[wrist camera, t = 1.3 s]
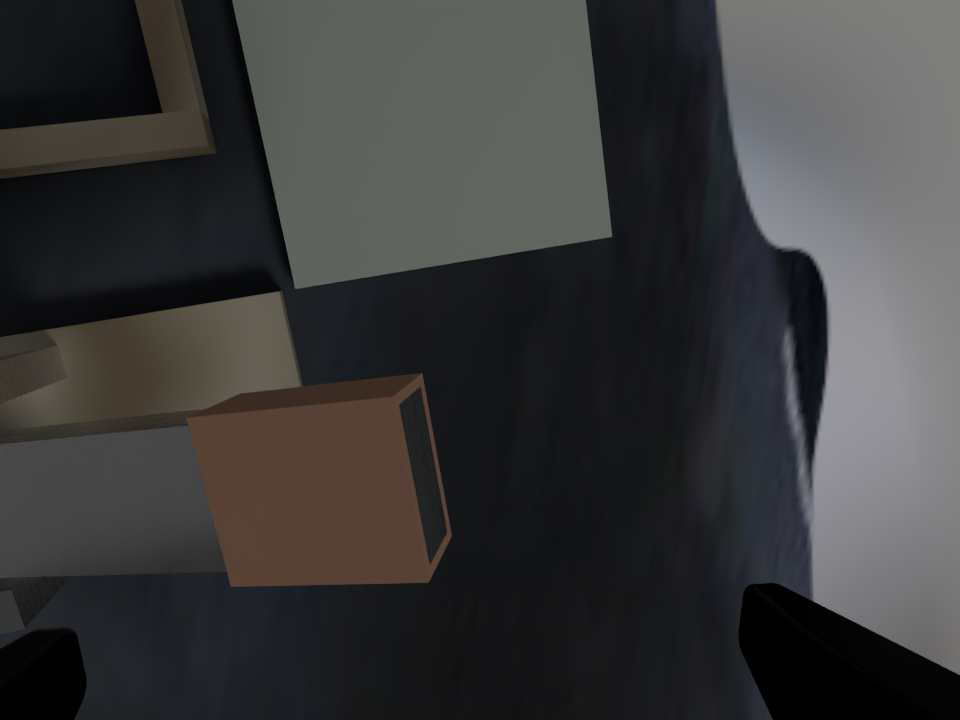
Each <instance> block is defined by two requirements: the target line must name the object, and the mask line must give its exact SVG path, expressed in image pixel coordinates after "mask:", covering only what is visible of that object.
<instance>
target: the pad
mask: <svg viewBox="0 0 960 720" xmlns="http://www.w3.org/2000/svg"><path fill="white" fill-rule="evenodd" d="M232 2H233V6H234V11H235V16H236V20H237V25H238V29H239V34H240V38H241V43H242V48H243V52H244V57H245V61H246V66H247V70H248V75H249V80H250V84H251V89H252V93H253V98H254V102H255V107H256V112H257V116H258V121H259V125H260V130H261V134H262V139H263V144H264V148H265V153H266V157H267V162H268V166H269V171H270V176H271V180H272V185H273V189H274V194H275V198H276V203H277V208H278V212H279V217H280V221H281V226H282V230H283V235H284V240H285V244H286V249H287V253H288V258H289V262H290V267H291V272H292V276H293V281H294V285H295V289H298V288H304V287H310V286H316V285H322V284H328V283H334V282H340V281H347V280H353V279H359V278H365V277H371V276H377V275H383V274H389V273H395V272H401V271H407V270H413V269H419V268H425V267H431V266H438V265H444V264H450V263H456V262H462V261H468V260H474V259H480V258H486V257H492V256H498V255H504V254H510V253H516V252H522V251H528V250H535V249H541V248H547V247H553V246H559V245H565V244H571V243H577V242H583V241H589V240H595V239H601V238H607V237H612V231H611V222H610V213H609V204H608V195H607V186H606V178H605V169H604V160H603V151H602V142H601V133H600V124H599V115H598V106H597V97H596V88H595V79H594V70H593V61H592V53H591V44H590V35H589V26H588V17H587V8H586V0H232Z"/></svg>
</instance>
